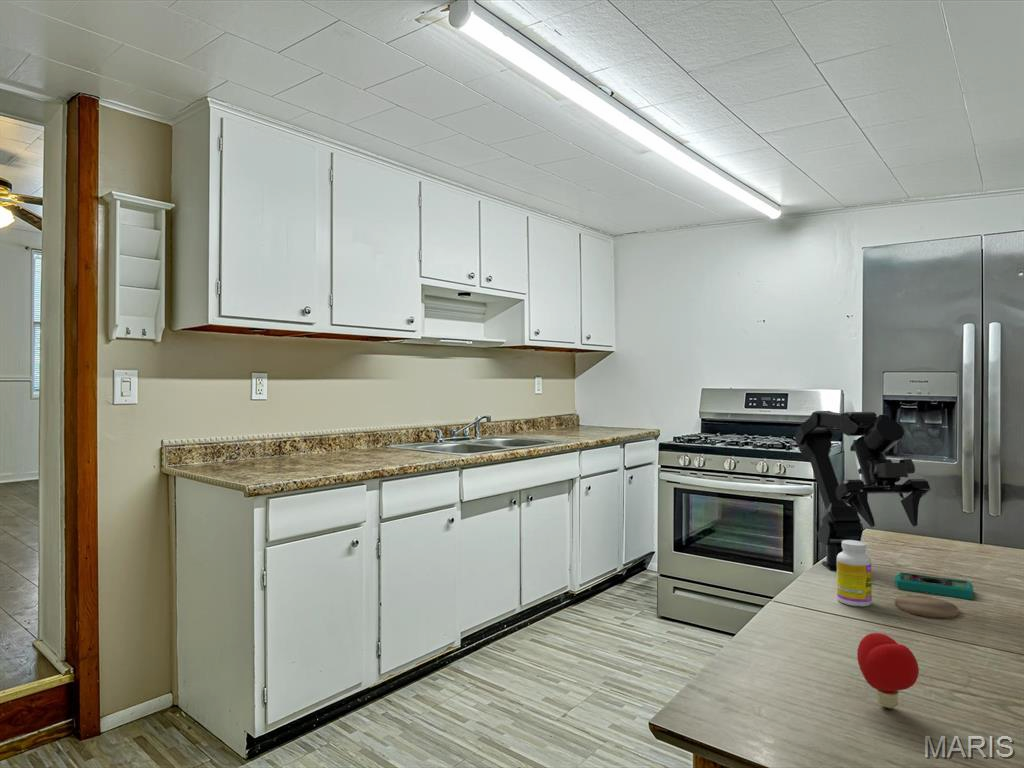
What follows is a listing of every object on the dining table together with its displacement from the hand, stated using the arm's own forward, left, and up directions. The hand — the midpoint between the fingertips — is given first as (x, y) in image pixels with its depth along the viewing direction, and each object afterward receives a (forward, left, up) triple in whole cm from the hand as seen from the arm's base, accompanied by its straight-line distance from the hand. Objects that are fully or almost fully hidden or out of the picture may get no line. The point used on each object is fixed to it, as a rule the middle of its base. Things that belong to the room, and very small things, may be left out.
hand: (894, 526), depth 141 cm
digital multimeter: (-7, +12, -17) cm, 21 cm away
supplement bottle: (+3, -10, -16) cm, 19 cm away
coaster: (+6, +3, -16) cm, 17 cm away
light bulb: (+50, -24, -16) cm, 58 cm away
